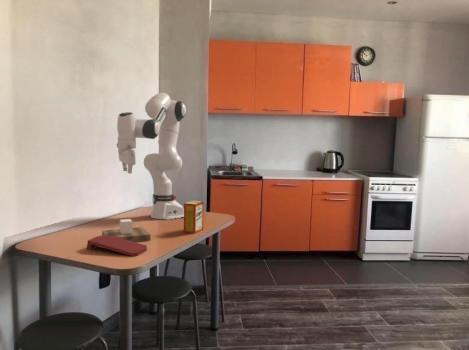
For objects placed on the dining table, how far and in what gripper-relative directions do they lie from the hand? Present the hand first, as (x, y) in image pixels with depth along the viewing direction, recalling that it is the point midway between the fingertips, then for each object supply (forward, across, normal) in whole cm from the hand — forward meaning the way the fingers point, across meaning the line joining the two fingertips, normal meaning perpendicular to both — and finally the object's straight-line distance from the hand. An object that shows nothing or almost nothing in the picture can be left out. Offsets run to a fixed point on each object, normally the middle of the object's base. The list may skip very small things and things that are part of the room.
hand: (127, 172), depth 207 cm
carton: (+31, -28, +12) cm, 43 cm away
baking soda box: (+33, -9, -32) cm, 47 cm away
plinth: (+32, -10, +4) cm, 33 cm away
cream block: (+28, -10, +4) cm, 31 cm away
